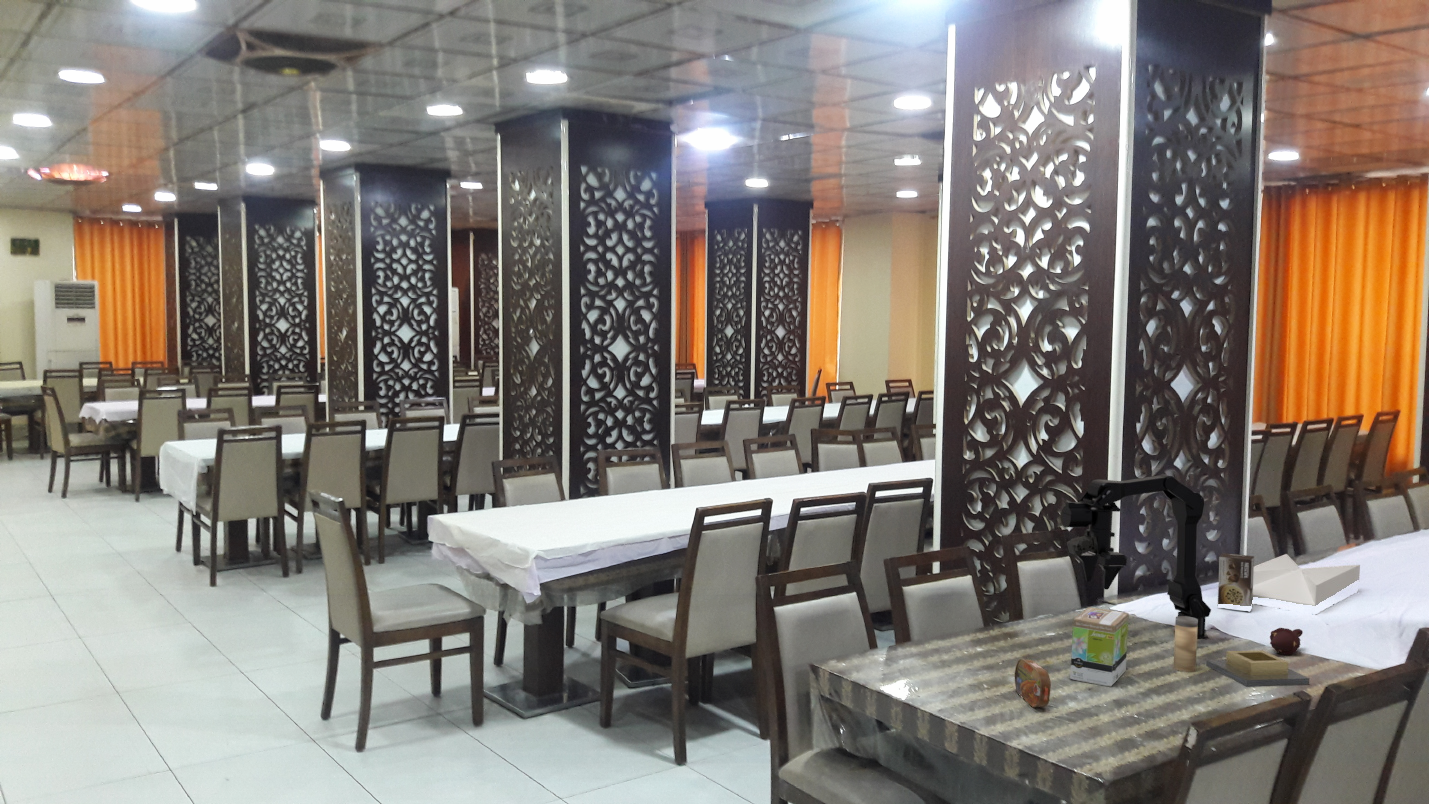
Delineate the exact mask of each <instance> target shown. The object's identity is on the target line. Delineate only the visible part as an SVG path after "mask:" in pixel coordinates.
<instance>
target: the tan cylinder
mask: <svg viewBox="0 0 1429 804" xmlns="http://www.w3.org/2000/svg"><path fill="white" fill-rule="evenodd" d="M1174 625H1175V626H1174V630H1175V633H1174V645H1173V646H1174V647H1173V648H1174V649H1173V669H1174V670H1175V669H1176V671H1178V670H1179V672H1182V671H1185V672H1184V673H1194V672H1196V671H1197V670H1196V669H1197V668H1196V667H1197V647H1198V638H1197V629H1198V619H1196V618H1193V617H1188V616H1178V615H1176V616H1175V622H1174Z"/></svg>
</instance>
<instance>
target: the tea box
mask: <svg viewBox="0 0 1429 804" xmlns="http://www.w3.org/2000/svg"><path fill="white" fill-rule="evenodd" d="M1129 616H1130V615H1129V613H1128V612H1125V611H1116V610H1110V609H1109V610H1108V609H1103V608H1097V607H1096V608H1095V607H1089V606H1087V608H1085V609H1084V610H1083V611H1082V612H1080V613H1079V614H1078V615H1077V616H1075V617H1074V618H1073V626H1072V642H1071V658H1070V671H1069V673H1070V674H1069V679H1070V680H1074V681H1078V682H1083V683H1088V684H1093V685H1099V686H1104V687H1112V686H1113V685H1114V684H1115V683H1116V681H1118V680H1119V679H1120V677H1122V675H1123V674H1125V672H1126V668H1127V655H1128V654H1127V652H1128V635H1129V633H1128V632H1129V618H1130V617H1129Z"/></svg>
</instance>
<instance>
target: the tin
mask: <svg viewBox="0 0 1429 804" xmlns="http://www.w3.org/2000/svg"><path fill="white" fill-rule="evenodd" d="M1014 685H1015V690H1016V693H1017V694H1020V696H1022V697H1023V698H1024V699H1025V700H1026V701H1027V702H1028V703H1029V704H1030V705H1031V706H1032V708H1045V707H1047V706H1048V705H1049V702H1050V697H1051V686H1052V683H1051V678H1050V675H1049V673H1048V671H1047V670H1046V669H1044V668H1043V667H1042V666H1041V665H1040V664H1038V663H1037V662H1035V661H1034V660H1032V659H1023V658H1021V659H1019V660H1018V661H1017V663H1016V665H1015V670H1014ZM1020 696H1019V697H1020ZM1024 699H1023V700H1024ZM1025 700H1024V701H1025ZM1026 701H1025V702H1026ZM1027 702H1026V703H1027ZM1028 703H1027V704H1028ZM1029 704H1028V705H1029ZM1031 706H1030V707H1031Z"/></svg>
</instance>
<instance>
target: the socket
mask: <svg viewBox="0 0 1429 804" xmlns="http://www.w3.org/2000/svg"><path fill="white" fill-rule="evenodd" d="M1289 662H1290V661H1287V660H1285V659H1283V658H1281V657H1278V656H1277V655H1274V654H1272V653H1269V652H1267V651H1266V650H1264V649H1262V650H1260V649H1259V650H1257V649H1255V650H1227V651H1226V658H1223V659H1222V658H1221V659H1206V662H1205V663H1206V664H1205V666H1206V667H1208V668H1210V669H1212V670H1214V671H1215V672H1218V673H1219V674H1221V675H1223V676H1225V677H1228V678H1229V679H1231V680H1233V681H1235V682H1237V683H1239V684H1242V685H1243V686H1245V687H1270V686H1272V687H1273V686H1275V687H1276V686H1302V685H1303V686H1306V685H1310V677H1308V676H1305V675H1304V674H1301V673H1299V672H1297V671H1294V670H1293V669H1290V668H1289V665H1290V664H1289Z"/></svg>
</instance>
